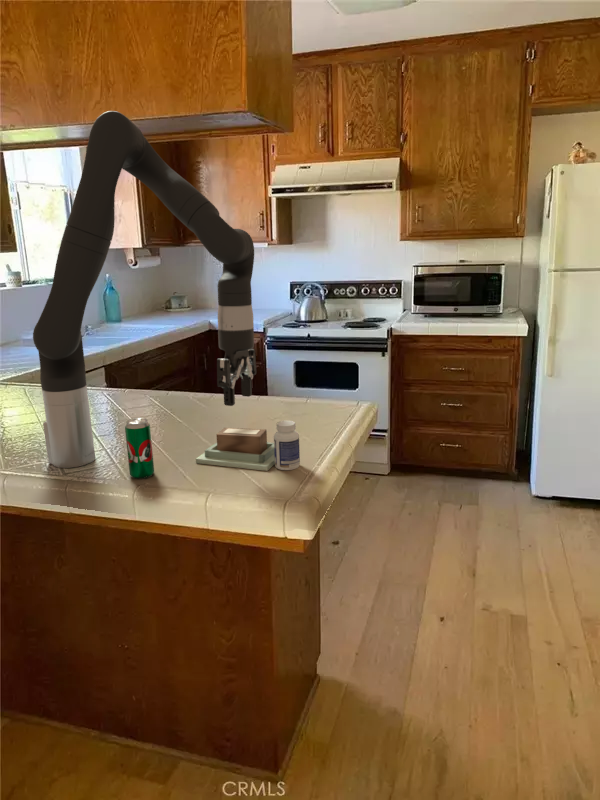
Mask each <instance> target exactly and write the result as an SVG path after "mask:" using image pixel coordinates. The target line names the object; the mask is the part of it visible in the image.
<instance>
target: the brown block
mask: <svg viewBox="0 0 600 800" xmlns="http://www.w3.org/2000/svg"><path fill="white" fill-rule="evenodd" d="M267 432H268V431H267V429H264V428H263V429H262V428H261V429H259V428H239V427H223V428H222V429H220V430H219V432H218V433H216V443H217V450H219V451H229V452H239V453H249V454H259V455H261V454H262V453H263V452H264V451H265V450H267V442H268V437H267V435H268V433H267Z"/></svg>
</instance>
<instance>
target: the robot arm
mask: <svg viewBox="0 0 600 800" xmlns="http://www.w3.org/2000/svg"><path fill="white" fill-rule="evenodd" d="M84 156H85V158H84V163H83V167H82V173H81V177H80V179H79V183H78V186H77V189H76V193H75V197H74V200H73V202H72V206H71V209H70V214H69V216H68V218H67V221H66V225H65V228H64V232H63V234H62V238H61V241H60V244H59V250H58V253H57V257H56V262H55V267H54V275H53V279H52V284H51V287H50V288H51V289H50V290H49V291H50V292H49V294H48V298H47V299H46V302H45V304H44V307H43V310H42V312H41V314H40V317H38V318H39V319H38V321H37V323H36V324H35V325H34V328H33V332H32V338H33V339H32V340H33V344H34V347H35V348H36V350H37V352H38V359H39V365H40V366H39V367H40V368H39V369H40V370H39V371H40V372H39V373H40V376H39V377H40V385H41V393H42V400H43V401H42V402H43V405H44V406H43V407H44V408H43V409H44V414H45V420H46V421H44V422H43V424H42V425H43V433H44V441H45V447H46V454H47V462H48V464H51V465H52V466H53V467H57V468H62V469H64V468H65V469H67V468H68V469H69V468H77V467H82V466H85V465H88V464H91V463H92V462H94V460H96V452H95V444H94V435H93V427H92V426H93V425H92V418H91V411H90V409H91V408H90V401H89V395H88V386H87V377H86V376H87V375H86V374H87V373H86V361H85V354H84V344H83V336H82V331H81V330H82V324H83V321H84V315H85V311H86V307H87V303H88V301H89V297H90V295H91V293H92V291H93V289H94V287H95V285H96V283H97V281H98V279H99V276H100V274H101V272H102V270H103V267H104V265H105V262H106V260H107V256H108V253H109V251H110V247H111V244H112V241H113V235H114V233H115V232H114V231H115V219H116V218H115V216H116V215H115V198H116V197H115V196H116V191H117V185H118V181H119V178H120V175H121V172H122V170H123V171H125V172H126V173H129V174H130V175H131V176H133V177H135V178H136V179H137V180H138V181H140V182H141V183H143V184H144V186H146V187H147V188H148V189H149V190H150V191H152V193H154V195H155V196H156V197H157V198H158V200H160V202H161V203H162V204H163V205H164V207H166V208H167V209H168V211H169V212H171V214H172V215H173V216H175V218H176V219H177V220H179V222H180V223H182V224H183V225H184V226H185V227H187V228H186V229H188V230H189V231H191V232H192V233H194V235H195V237H196V238H197V239H198V240H199V242H200V243H201V244H202V246H204V248H205V249H206V251H207V252H208V253H209V254H210V255H211V256H212V257H213V258H214V259H215V260H217V261H219V262H220V263H221V264H222V275H221V277H220V278H219V279H218V281H217V301H218V303H217V304H218V307H217V335H218V336H217V337H218V348H219V349H220V350H222V351H224V358H217V359H216V383H217V384H216V385H217V387H218V388H222V389H223V405H225V406H228V407H233V406H235V404H236V398H235V397H236V396H235V393H236V392H235V385H236V381H238V379H239V378H241V380H240V384H241V388H240V389H241V396H242V397H248V398H249V397H252V395H253V393H252V392H253V390H252V389H253V388H252V380H253V379H254V376H255V375H257V361H256V359H257V358H256V357H257V356H256V349H255V348H254V347H255V333H254V332H255V331H254V330H255V328H254V327H255V326H254V312H253V302H252V299H253V297H252V277H253V271H254V263H255V245H254V241H253V239H252V237H251V235H250V233H248V231H246V230H245V229H242V228H233V227H232V226H231V225H230V224H229V223H228V222H227V221H226V220H224V218H222V217H221V214H220V211H219V210H218V208H217V207H216V206H215V205H214V204H213V203H212V202H211V201H210V200H209V198H207V197H205V195H203V193H201V192H200V191H199V190H198V189H197V188H196V187H194V185H192V184H191V183H190V182H189V181H187V180H186V179H185V178H183V177H182V176H181V175H180V174H179V173H177V171H175V170H174V169H173V168H172V167H170V166H169V164H167V162H165V160H163V158H162V157H161V156H160V155H159V154H158V153H157V152H156V150H155V149H154V147H153V146H152V144H151V143H150V142H149V141H148V140H147V138H146V137H145V136H144V134H143V131H142V130H141V129H140V128H139V127H138V126H137V125H136V124H135V123H133V122H132V120H131V119H129V117H127V116H126V115H125V114H123V113H121V112H119V111H116V110H108V111H105V112H103V113H102V114H100V115H99V116H98V117H96V119H95V121H94V122H93V125H92V126H91V129H90V131H89V136H88V140H87V147H86V152H85V155H84Z"/></svg>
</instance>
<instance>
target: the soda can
mask: <svg viewBox="0 0 600 800" xmlns="http://www.w3.org/2000/svg"><path fill="white" fill-rule="evenodd" d="M124 433H125V434H124V435H125V443H126V444H125V445H126V452H127V453H126V454H127V460H128V461H127V462H128V469H129V471H128V472H129V476H130V477H132V479H137V480H142V479H148V478H150V477H152V476H153V475H154V473H155V463H154V454H153V443H152V442H153V441H152V433H151V424H150V423H149V420H148V419H147V418H145V417H136V418H135V417H134V418H130V419H127V420H126V421H125V426H124Z"/></svg>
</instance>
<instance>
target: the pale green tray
mask: <svg viewBox="0 0 600 800" xmlns="http://www.w3.org/2000/svg"><path fill="white" fill-rule="evenodd" d="M195 464H201V465H212V466H218V467H220V466H221V467H229V468H237V469H248V470H256V471H257V470H258V471H266V472H268V471H269V470H270V469H271V468H272V467H273V466H275V455H274V442H270V441H267V450H265V451H264V452H263V453H262V454H261V455H259V454H249V453H239V452H229V451H219V450H217V442H215V443H213V445H211V446H209V447H208V448H206V449H205V450H204V452H203V453H202V454H201V455H199V456H198V457H196V458H195Z"/></svg>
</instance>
